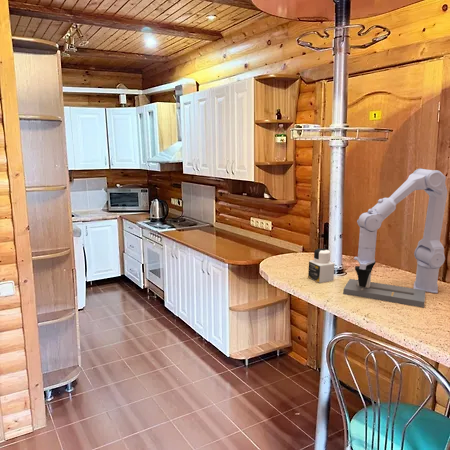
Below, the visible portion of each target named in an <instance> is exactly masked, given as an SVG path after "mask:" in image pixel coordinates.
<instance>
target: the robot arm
mask: <svg viewBox="0 0 450 450" xmlns="http://www.w3.org/2000/svg"><path fill="white" fill-rule="evenodd" d="M446 179H447V177H446V175H445V174H444V173H443V172H441V171H440V170H439V169H438V170H437V169H435V170H434V169H425V168H417V169H415V170H414V171H413V173H410V174H409V175H408V178H407V179H406V180H405V181H404V182H403V183H402V184H401V185H400V186H399V187H397V189H395V191H393V193H392V194H391V195H390V196H389V197H383V198H379V199H378V200H377V203H376V204H374V206H373V207H371V208H369V209H368V210H367V212H363V213H361V214H360V215H359V216H358V217H359V218H358V219H357V221H356V223H357V225H358V227H359V235H358V236H359V238H358V249H357V250H358V251H357V256H354V257H353V260H355V261H357V263H358V264H359V266H358V265H355V267H354V270H355V272H356V275H357V280H358V281H359V286H361V287H366V284H367V280H368V277H369V274H370V272H371V273H372V271H373V268H374V266H375V265H376V264H377V263H376V259H375V258H376V247H377V234H378V230H379V229H380V228H381V226H382V223H383V221H385V219H387V218H388V217H389V216H390V215H391V214H392V213H394V211H396V209H397V205H398V204H399V203H400V202H402V201H403V200H404V199H406V197H408V196H409V195H410V194H412V193H413V192H415V191H424V192H425V193H426V194H427V195H428V203H427V210H426V216H425V223H424V230H423V236H422V238H421V239H420V240H419V241H418V242H417V246H416V248H415V249H414V253H413V254H414V255H413V256H414V258H415V260H416V263H417V265H416V274H415V281H413V288H414V289H420V290H426V291H425V293H426V292H428V293H432V294H438V293H439V292H438V291H439V287H438V278H439V273H440V272H439V270H440V269H441V266H443V264H444V263H445V260H446V256H445V248H444V247H445V246H444V245H443V243H442V242H441V235H442V230H443V229H442V228H443V223H444V216H445V210H446V204H447V197H448V189H447V184H446Z"/></svg>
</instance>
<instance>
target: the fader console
mask: <svg viewBox="0 0 450 450" xmlns="http://www.w3.org/2000/svg"><path fill="white" fill-rule="evenodd" d="M345 284H346V285H344V287H343V293H342V294H343V295H347V296H352V297H359V298H365V299H371V300H377V301H381V302H382V301H383V302H388V303H393V304H394V303H395V304H399V305H406V306H411V307H412V306H413V307H416V308H417V307H418V308H424V309H425V302H426V290H420V289H414V288H412V287H406V286H399V285H394V284H389V283H388V284H385V283H379V282H374V281H371V282H370V287H369V288H366V287H360V286H357V285H358V279H355V278H349V279H348V281H347V283H345Z"/></svg>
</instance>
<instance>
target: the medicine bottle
mask: <svg viewBox="0 0 450 450" xmlns="http://www.w3.org/2000/svg"><path fill="white" fill-rule="evenodd" d="M307 274H308V276H307V277H308V278H309V279H310V280H312V281H314V282H317V283H318V284H321V283H327V282H333V281H334V278H335V263H334V262H332V261H331V251H330V250H329V249H328V248H317V249H314V251H313V259H312V260H309V261H308V271H307Z"/></svg>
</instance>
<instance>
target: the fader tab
mask: <svg viewBox="0 0 450 450" xmlns="http://www.w3.org/2000/svg"><path fill="white" fill-rule="evenodd" d="M371 280H372V271H371V272H370V274H369V277H368V280H367V284H366V288H369V287H370V282H372V281H371ZM357 286H359V281H358V285H357ZM360 287H361V286H360Z"/></svg>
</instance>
